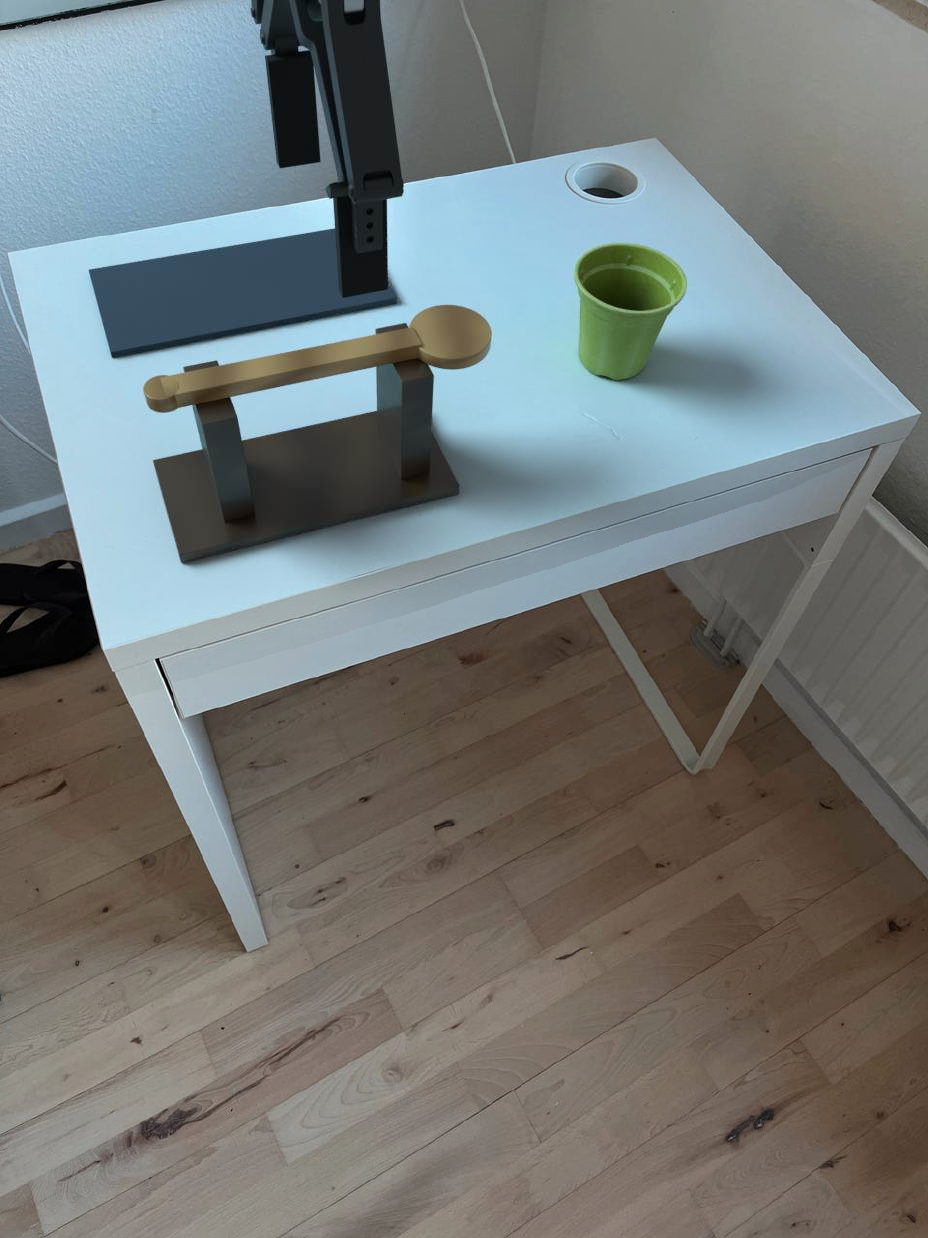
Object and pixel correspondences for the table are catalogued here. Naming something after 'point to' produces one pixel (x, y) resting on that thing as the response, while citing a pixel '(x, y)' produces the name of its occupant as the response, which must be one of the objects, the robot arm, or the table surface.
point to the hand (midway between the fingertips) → (329, 222)
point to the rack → (305, 468)
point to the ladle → (333, 359)
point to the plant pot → (624, 305)
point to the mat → (223, 292)
